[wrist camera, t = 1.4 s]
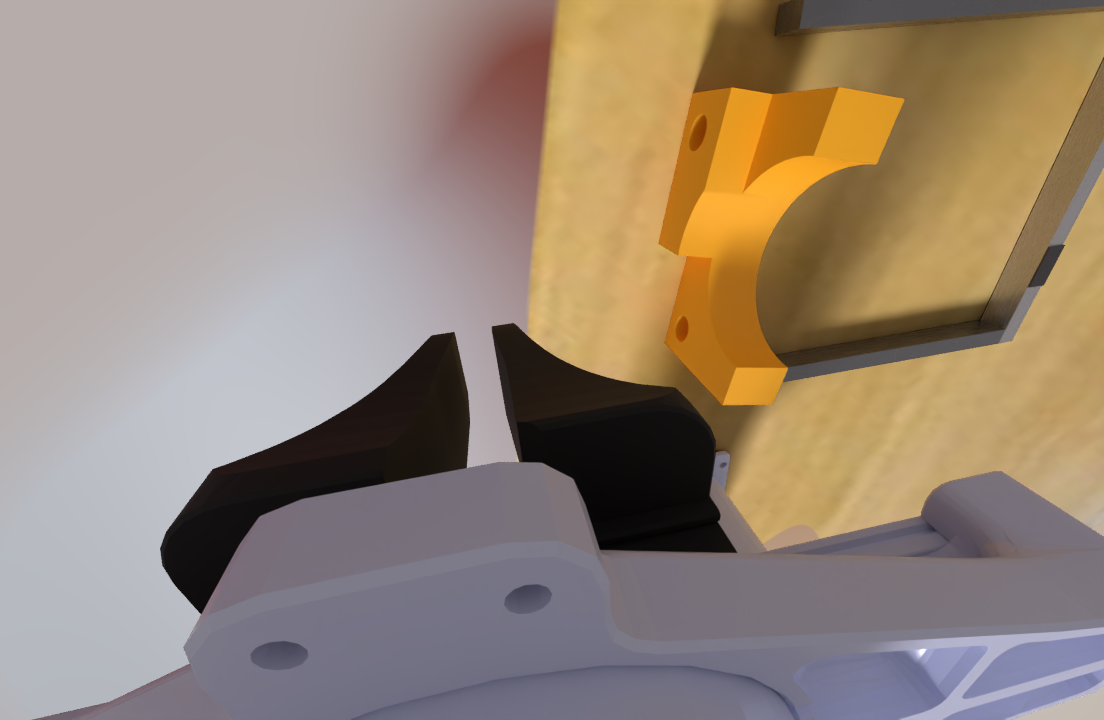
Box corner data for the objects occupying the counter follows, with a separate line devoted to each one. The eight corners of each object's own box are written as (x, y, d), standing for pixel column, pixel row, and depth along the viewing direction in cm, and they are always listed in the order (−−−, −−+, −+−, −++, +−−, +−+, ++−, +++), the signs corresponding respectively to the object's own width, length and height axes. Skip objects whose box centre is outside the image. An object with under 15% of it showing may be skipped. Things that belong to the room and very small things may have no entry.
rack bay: (986, 331, 28) (1013, 341, 27) (724, 377, 26) (738, 391, 25) (1158, -21, 19) (1212, -32, 18) (779, 5, 17) (806, -6, 16)
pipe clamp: (690, 93, 18) (790, 78, 13) (776, 107, 19) (904, 99, 14) (634, 340, 24) (686, 405, 18) (703, 342, 25) (772, 404, 19)
